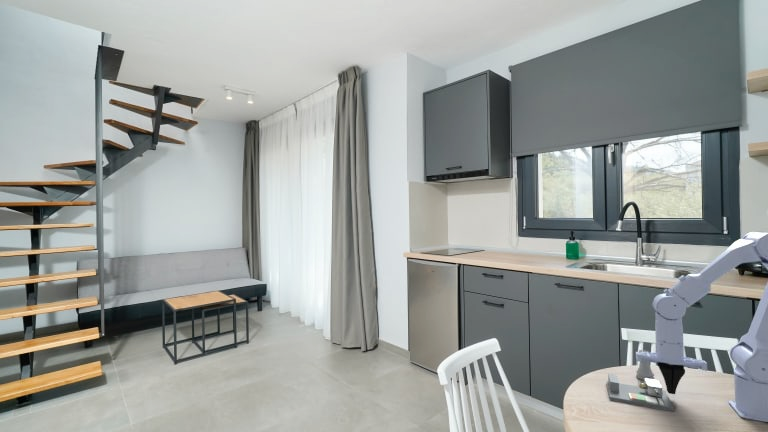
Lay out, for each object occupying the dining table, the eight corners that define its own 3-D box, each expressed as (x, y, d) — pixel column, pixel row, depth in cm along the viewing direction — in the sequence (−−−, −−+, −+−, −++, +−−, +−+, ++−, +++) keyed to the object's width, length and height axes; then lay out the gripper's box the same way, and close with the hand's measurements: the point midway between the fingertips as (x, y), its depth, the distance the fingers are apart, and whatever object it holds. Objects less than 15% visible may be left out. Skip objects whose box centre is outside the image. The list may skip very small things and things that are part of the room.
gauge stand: (665, 393, 95) (664, 381, 95) (674, 411, 87) (674, 398, 87) (606, 383, 102) (606, 372, 102) (609, 399, 93) (609, 387, 93)
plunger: (658, 389, 96) (658, 380, 96) (665, 402, 89) (665, 393, 89) (638, 386, 98) (637, 376, 98) (643, 399, 91) (643, 389, 91)
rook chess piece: (641, 381, 103) (640, 354, 103) (632, 374, 107) (632, 348, 107) (658, 382, 102) (657, 354, 102) (648, 375, 107) (647, 348, 107)
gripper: (700, 339, 93) (702, 391, 93) (633, 332, 100) (635, 380, 99) (709, 348, 86) (711, 403, 86) (637, 340, 93) (639, 391, 93)
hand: (671, 392), depth 92 cm, fingers closed
